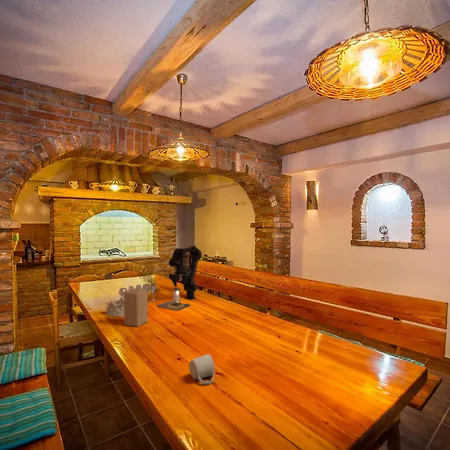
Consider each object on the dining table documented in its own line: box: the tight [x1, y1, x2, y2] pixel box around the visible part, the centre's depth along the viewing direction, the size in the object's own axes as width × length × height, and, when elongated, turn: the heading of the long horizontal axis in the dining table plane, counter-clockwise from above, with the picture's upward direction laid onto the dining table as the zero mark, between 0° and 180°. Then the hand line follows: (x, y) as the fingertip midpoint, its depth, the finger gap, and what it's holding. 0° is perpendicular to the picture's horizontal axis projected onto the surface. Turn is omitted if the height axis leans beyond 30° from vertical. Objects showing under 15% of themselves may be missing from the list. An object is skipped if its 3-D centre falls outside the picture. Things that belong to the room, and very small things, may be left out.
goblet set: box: [118, 283, 157, 303], centre depth 218 cm, size 28×6×13 cm, turn 123°
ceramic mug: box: [188, 353, 216, 386], centre depth 112 cm, size 11×8×8 cm
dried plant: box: [126, 259, 163, 294], centre depth 249 cm, size 30×31×45 cm
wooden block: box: [123, 287, 148, 328], centre depth 173 cm, size 10×10×20 cm
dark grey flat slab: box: [156, 300, 192, 312], centre depth 209 cm, size 14×20×3 cm
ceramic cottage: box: [105, 293, 124, 318], centre depth 194 cm, size 16×16×15 cm
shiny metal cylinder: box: [172, 287, 181, 306], centre depth 204 cm, size 4×4×13 cm
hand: (179, 285), depth 216 cm, fingers open, 9 cm apart
